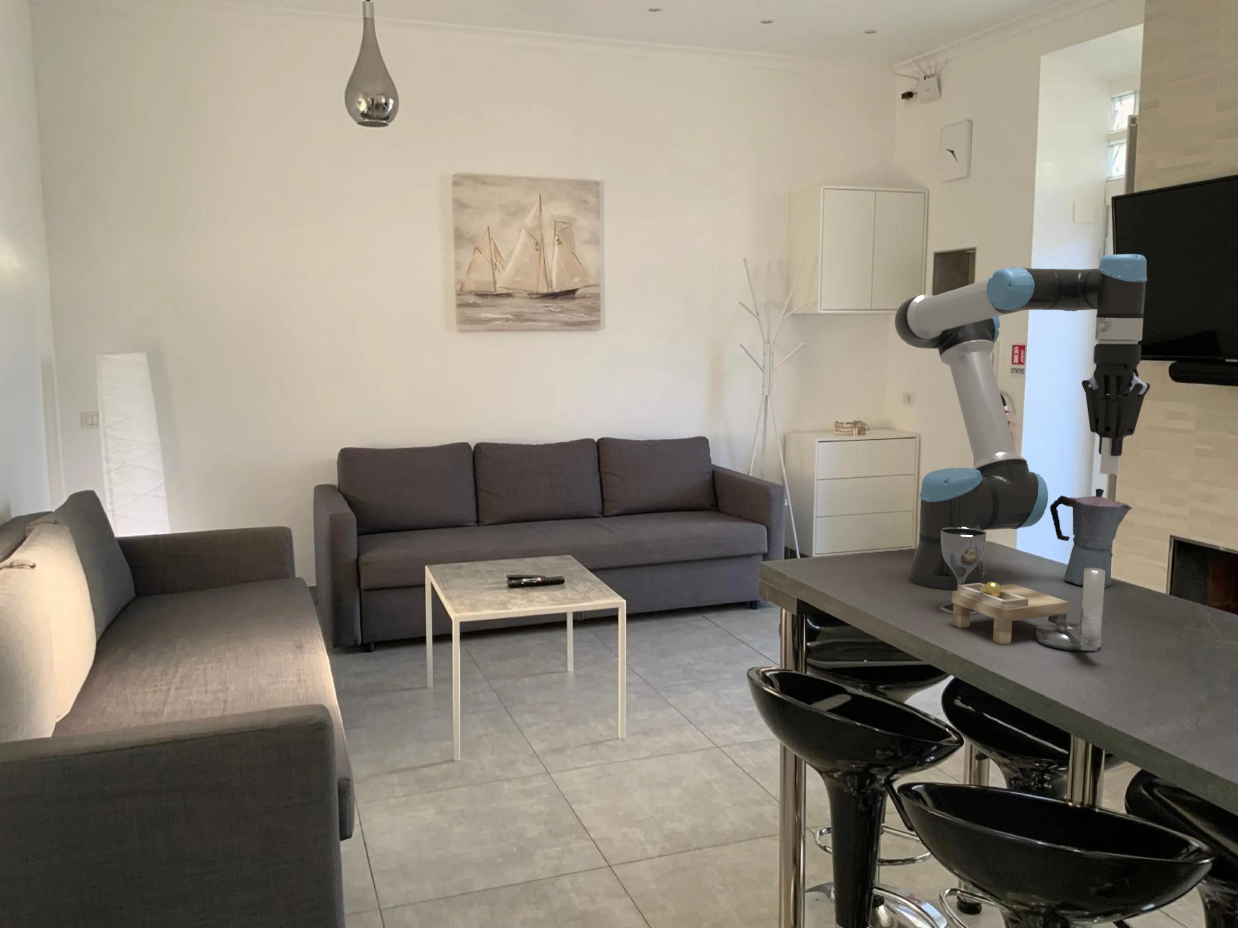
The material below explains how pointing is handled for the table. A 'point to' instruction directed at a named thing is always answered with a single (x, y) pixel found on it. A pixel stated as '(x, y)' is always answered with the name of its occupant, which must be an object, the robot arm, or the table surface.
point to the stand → (1006, 607)
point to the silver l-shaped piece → (1091, 619)
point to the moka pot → (1090, 533)
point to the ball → (992, 589)
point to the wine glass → (962, 553)
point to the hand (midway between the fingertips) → (1108, 473)
